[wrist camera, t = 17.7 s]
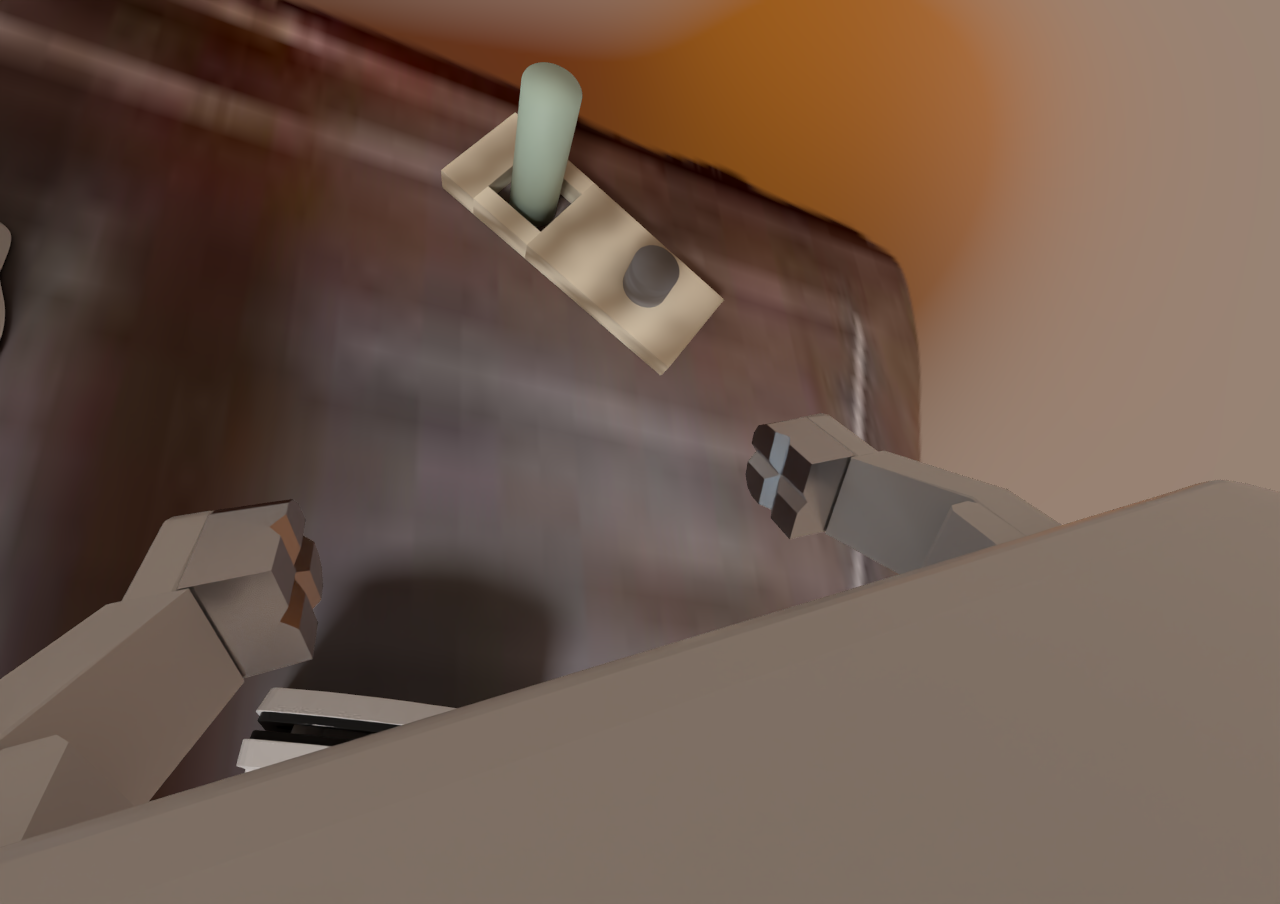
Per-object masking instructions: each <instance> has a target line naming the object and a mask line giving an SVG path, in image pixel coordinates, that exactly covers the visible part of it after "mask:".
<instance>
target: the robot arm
mask: <svg viewBox="0 0 1280 904" xmlns="http://www.w3.org/2000/svg"><path fill="white" fill-rule="evenodd" d="M10 244H11V234H10V231H9V230H8V228H7V227H6V226H4V225H3V224H2V223H0V270H1V268H2V266H3V264H4V261H5V259H6V256H7V254H8V251H9V248H10ZM4 321H5V305H4V298H3V293H2V288H1V282H0V339H1V336H2V332H3V327H4ZM752 444H753V446H754V448H755V450H756V452H755V453H754V454H753V456H752V457H751V458H750V459H749V461H748V464H747V470H746V480H747V486H748V489H749V491H750V493H751V495H752V497H753V498H754V499H755V500H756V502H757V503H758V504H760V505H762V506H764V507H766V508H769V509H771V519H772V520H773V521H774V522H775V523H776V524H777V525H778V527H779V528H780V529H781V530H782V531H783V532H784V533H785V534H786V536H787V537H788V538H789V539H793V538H798V537H803V536H807V535H812V534H816V533H821V532H825V531H826V533H825V534H827V535H829V536H831V537H833V538H835V539H836V540H838V541H840V542H842V543H844V544H845V545H847V546H849V547H851V548H853V549H854V550H856V551H858V552H860V553H862V554H864V555H865V556H867V557H869V558H871V559H873V560H874V561H876V562H878V563H880V564H882V565H884V566H885V567H887V568H889V569H891V570H893V571H894V572H896V573H898V574H899V575H896V576H892V577H889V578H886V579H883V580H879V581H876V582H873V583H869V584H866V585H863V586H859V587H856V588H853V589H850V590H846V591H843V592H840V593H836V594H833V595H830V596H826V597H823V598H820V599H816V600H813V601H810V602H807V603H803V604H800V605H797V606H793V607H790V608H787V609H783V610H780V611H777V612H773V613H770V614H767V615H764V616H760V617H757V618H754V619H750V620H747V621H744V622H740V623H737V624H734V625H731V626H727V627H724V628H721V629H717V630H714V631H711V632H707V633H704V634H701V635H698V636H694V637H691V638H688V639H684V640H681V641H678V642H674V643H671V644H668V645H665V646H661V647H658V648H655V649H651V650H648V651H645V652H642V653H638V654H635V655H632V656H628V657H625V658H622V659H618V660H615V661H612V662H609V663H605V664H602V665H599V666H595V667H592V668H589V669H585V670H582V671H579V672H576V673H572V674H569V675H566V676H562V677H559V678H556V679H552V680H549V681H546V682H543V683H539V684H536V685H533V686H529V687H526V688H523V689H520V690H516V691H513V692H510V693H506V694H503V695H500V696H496V697H493V698H490V699H487V700H483V701H480V702H477V703H473V704H470V705H467V706H463V707H460V708H457V709H454V710H450V711H447V712H444V713H440V714H437V715H434V716H430V717H427V718H424V719H421V720H417V721H414V722H411V723H407V724H404V725H401V726H397V727H394V728H391V729H388V730H384V731H381V732H378V733H374V734H371V735H368V736H364V737H361V738H358V739H355V740H351V741H348V742H345V743H341V744H338V745H335V746H332V747H328V748H325V749H322V750H318V751H315V752H312V753H308V754H305V755H302V756H299V757H295V758H292V759H289V760H285V761H282V762H279V763H275V764H272V765H269V766H266V767H262V768H259V769H256V770H252V771H249V772H246V773H242V774H239V775H236V776H233V777H229V778H226V779H223V780H219V781H216V782H213V783H210V784H206V785H203V786H200V787H196V788H193V789H190V790H186V791H183V792H180V793H177V794H173V795H170V796H167V797H163V798H160V799H157V800H153V801H150V802H148V801H149V800H150V799H151V798H152V796H153V795H154V794H155V793H156V791H157V790H158V789H159V788H160V786H161V785H162V784H163V783H164V781H165V780H166V779H167V778H168V776H169V775H170V774H171V773H172V771H173V770H174V769H175V768H176V766H177V765H178V764H179V763H180V761H181V760H182V759H183V758H184V756H185V755H186V754H187V753H188V751H189V750H190V749H191V748H192V746H193V745H194V744H195V743H196V741H197V740H198V739H199V738H200V736H201V735H202V734H203V733H204V731H205V730H206V729H207V728H208V726H209V725H210V724H211V723H212V721H213V720H214V719H215V718H216V716H217V715H218V714H219V713H220V711H221V710H222V709H223V708H224V706H225V705H226V704H227V703H228V701H229V700H230V699H231V698H232V696H233V695H234V694H235V693H236V691H237V690H238V689H239V688H240V686H241V685H242V684H243V683H244V679H243V678H246V677H249V676H253V675H257V674H260V673H264V672H267V671H271V670H275V669H278V668H282V667H286V666H289V665H293V664H297V663H300V662H304V661H307V660H311V659H313V654H314V647H315V640H316V634H317V627H318V621H317V619H316V617H315V614H314V612H313V608H314V607H315V606H316V605H317V604H318V603H319V602H320V601H321V598H322V590H323V577H322V566H321V562H320V557H319V553H318V550H317V548H316V545H315V542H314V541H312V540H310V539H308V538H307V537H305V536H303V533H304V528H305V522H306V519H305V517H304V515H303V512H302V510H301V508H300V505H299V503H297V502H296V501H295V500H294V499H290V500H283V501H276V502H269V503H262V504H255V505H248V506H241V507H234V508H227V509H220V510H215V511H206V512H200V513H194V514H187V515H181V516H175V517H172V518H170V519H168V520H166V521H165V522H164V523H163V525H162V527H161V529H160V530H159V532H158V534H157V536H156V538H155V540H154V542H153V544H152V545H151V547H150V549H149V551H148V553H147V555H146V557H145V558H144V560H143V562H142V564H141V566H140V568H139V570H138V572H137V573H136V575H135V577H134V579H133V581H132V583H131V585H130V586H129V588H128V590H127V592H126V594H125V596H124V598H123V600H122V601H121V602H117V603H112V604H107V605H105V606H104V607H103V608H101V609H100V610H98V611H97V612H95V613H94V614H93V615H91V616H90V617H88V618H87V619H86V620H84V621H83V622H81V623H80V624H78V625H77V626H76V627H74V628H73V629H71V630H70V631H68V632H67V633H66V634H64V635H63V636H61V637H60V638H59V639H57V640H56V641H54V642H53V643H51V644H50V645H49V646H47V647H46V648H44V649H43V650H41V651H40V652H39V653H37V654H36V655H34V656H33V657H32V658H30V659H29V660H27V661H26V662H24V663H23V664H22V665H20V666H19V667H17V668H16V669H15V670H13V671H12V672H10V673H9V674H7V675H6V676H5V677H3V678H2V679H0V904H1280V492H1278V491H1274V490H1270V489H1266V488H1261V487H1257V486H1254V485H1250V484H1246V483H1240V482H1235V481H1229V480H1214V481H1207V482H1203V483H1198V484H1195V485H1192V486H1188V487H1185V488H1182V489H1179V490H1176V491H1173V492H1170V493H1166V494H1163V495H1160V496H1156V497H1153V498H1150V499H1146V500H1143V501H1140V502H1137V503H1133V504H1130V505H1127V506H1123V507H1120V508H1117V509H1113V510H1110V511H1107V512H1104V513H1101V514H1097V515H1094V516H1091V517H1087V518H1084V519H1081V520H1077V521H1074V522H1071V523H1067V524H1064V525H1061V524H1060V523H1058V522H1057V521H1055V520H1054V519H1052V518H1051V517H1049V516H1048V515H1046V514H1045V513H1043V512H1042V511H1040V510H1038V509H1037V508H1035V507H1034V506H1032V505H1031V504H1029V503H1027V502H1026V501H1025V500H1023V499H1021V498H1020V497H1019V496H1017V495H1016V494H1014V493H1013V492H1011V491H1009V490H1008V489H1005V488H1002V487H998V486H995V485H992V484H989V483H985V482H982V481H979V480H976V479H973V478H969V477H966V476H963V475H960V474H957V473H953V472H950V471H947V470H944V469H941V468H937V467H934V466H931V465H928V464H925V463H922V462H918V461H915V460H912V459H909V458H906V457H902V456H899V455H896V454H893V453H890V452H886V451H880V452H878V451H876V450H875V449H874V448H872V447H871V446H870V445H868V444H867V443H866V442H864V441H863V440H862V439H860V438H859V437H858V436H856V435H855V434H854V433H852V432H851V431H850V430H848V429H847V428H845V427H844V426H843V425H841V424H840V423H839V422H837V421H836V420H835V419H833V418H832V417H831V416H829V415H826V414H822V413H820V414H815V415H810V416H805V417H801V418H798V419H792V420H786V421H780V422H775V423H769V424H763V425H759V426H758V427H757V429H756V430H755V432H754V435H753V440H752Z"/></svg>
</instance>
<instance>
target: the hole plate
mask: <svg viewBox="0 0 1280 904" xmlns="http://www.w3.org/2000/svg"><path fill="white" fill-rule="evenodd" d="M517 120H518V114H516V113H514V114H513V115H511V116H510V117H509V118H508V119H506V120H505V121H504V122H502V123H501V124H500V125H499V126H497V127H496V128H495V129H493V130H492V131H491V132H490V133H488V134H487V135H486V136H484V137H483V138H482V139H481V140H479V141H478V142H477V143H475V144H474V145H473V146H472V147H470V148H469V149H468V150H466V151H465V152H464V153H463V154H461V155H460V156H459V157H457V158H456V159H455V160H454V161H452V162H451V163H450V164H448V165H447V166H446V167H445V168H443V169H442V170H441V176H442V187H443V188H444V189H445V190H446V191H447V192H448V193H450V194H451V195H452V196H453V197H454V198H455V199H457V200H458V201H459V202H460V203H461V204H462V205H463V206H465V207H466V208H467V209H468V210H469V211H470V212H472V213H473V214H474V215H475V216H476V217H477V218H479V219H480V220H481V221H482V222H483V223H484V224H486V225H487V226H488V227H489V228H490V229H491V230H492V231H494V232H495V233H496V234H497V235H498V236H499V237H501V238H502V239H503V240H504V241H505V242H506V243H508V244H509V245H510V246H511V247H512V248H513V249H514V250H516V251H517V252H518V253H519V254H520V255H521V256H523V257H524V258H525V259H526V260H527V261H528V262H530V263H531V264H532V265H533V266H534V267H535V268H537V269H538V270H539V271H540V272H541V273H542V274H543V275H545V276H546V277H547V278H548V279H549V280H550V281H552V282H553V283H554V284H555V285H556V286H557V287H559V288H560V289H561V290H562V291H563V292H564V293H566V294H567V295H568V296H569V297H570V298H571V299H572V300H574V301H575V302H576V303H577V304H578V305H579V306H581V307H582V308H583V309H584V310H585V311H586V312H588V313H589V314H590V315H591V316H592V317H593V318H594V319H596V320H597V321H598V322H599V323H600V324H601V325H603V326H604V327H605V328H606V329H607V330H608V331H610V332H611V333H612V334H613V335H614V336H615V337H617V338H618V339H619V340H620V341H621V342H622V343H623V344H625V345H626V346H627V347H628V348H629V349H630V350H632V351H633V352H634V353H635V354H636V355H637V356H639V357H640V358H641V359H642V360H643V361H644V362H646V363H647V364H648V365H649V366H650V367H651V368H652V369H654V370H655V371H656V372H657V373H658V374H659V375H662V374H663V373H664V372H665V371H666V370H667V369H668V368H669V367H670V365H671V364H672V363H673V362H674V360H675V359H676V358H677V357H678V355H679V354H680V353H681V352H682V351H683V349H684V348H685V347H686V346H687V344H688V343H689V342H690V341H691V339H692V338H693V337H694V336H695V335H696V333H697V332H698V331H699V330H700V328H701V327H702V326H703V325H704V323H705V322H706V321H707V320H708V319H709V317H710V316H711V315H712V314H713V312H714V311H715V310H716V309H717V307H718V306H719V305H720V304H721V303H722V301H723V300H724V299H723V298H722V297H721V296H720V295H718V294H717V293H716V292H715V291H714V290H713V289H712V288H711V287H709V286H708V285H707V284H706V283H705V282H704V281H703V280H702V279H701V278H699V277H698V276H697V275H696V274H695V273H694V272H693V271H692V270H690V269H689V268H688V267H687V266H686V265H685V264H684V263H683V262H682V261H680V260H679V259H678V258H677V257H676V256H675V255H674V254H673V253H672V252H670V251H669V250H668V249H667V248H666V247H665V246H664V245H663V244H661V243H660V242H659V241H658V240H657V239H656V238H655V237H654V236H653V235H651V234H650V233H649V232H648V231H647V230H646V229H645V228H644V227H643V226H641V225H640V224H639V223H638V222H637V221H636V220H635V219H634V218H632V217H631V216H630V215H629V214H628V213H627V212H626V211H625V210H624V209H622V208H621V207H620V206H619V205H618V204H617V203H616V202H615V201H613V200H612V199H611V198H610V197H609V196H608V195H607V194H606V193H605V192H603V191H602V190H601V189H600V188H599V187H598V186H597V185H596V184H595V183H593V182H592V181H591V180H590V179H589V178H588V177H587V176H586V175H584V174H583V173H582V172H581V171H580V170H579V169H578V168H577V167H576V166H574V165H573V164H572V163H571V162H570V161H569V160H568V161H567V166H566V170H565V174H564V178H563V183H562V187H561V191H560V194H561V195H562V196H563V197H564V198H565V199H566V200H568V201H569V202H570V203H571V205H570V206H568V207H567V208H566V209H565V210H564V211H563V212H562V213H561V214H560V215H559V216H558V217H557V218H555V219H554V220H553V221H552V222H551V223H550V224H549V225H548V226H547V227H546V228H545V229H544V230H542V231H541V232H540V231H539V230H538V229H537V228H536V227H535V226H533V225H532V224H531V223H530V222H529V221H528V220H526V219H525V218H524V217H523V216H522V215H521V214H520V213H518V212H517V211H516V210H515V209H514V208H513V207H512V206H510V205H509V204H508V203H507V202H506V201H505V200H504V199H502V198H501V197H500V196H499V195H498V193H499V192H500V191H501V190H502V189H504V188H505V187H506V186H507V185H508V184H510V183H511V180H512V170H513V160H514V150H515V140H516V130H517Z"/></svg>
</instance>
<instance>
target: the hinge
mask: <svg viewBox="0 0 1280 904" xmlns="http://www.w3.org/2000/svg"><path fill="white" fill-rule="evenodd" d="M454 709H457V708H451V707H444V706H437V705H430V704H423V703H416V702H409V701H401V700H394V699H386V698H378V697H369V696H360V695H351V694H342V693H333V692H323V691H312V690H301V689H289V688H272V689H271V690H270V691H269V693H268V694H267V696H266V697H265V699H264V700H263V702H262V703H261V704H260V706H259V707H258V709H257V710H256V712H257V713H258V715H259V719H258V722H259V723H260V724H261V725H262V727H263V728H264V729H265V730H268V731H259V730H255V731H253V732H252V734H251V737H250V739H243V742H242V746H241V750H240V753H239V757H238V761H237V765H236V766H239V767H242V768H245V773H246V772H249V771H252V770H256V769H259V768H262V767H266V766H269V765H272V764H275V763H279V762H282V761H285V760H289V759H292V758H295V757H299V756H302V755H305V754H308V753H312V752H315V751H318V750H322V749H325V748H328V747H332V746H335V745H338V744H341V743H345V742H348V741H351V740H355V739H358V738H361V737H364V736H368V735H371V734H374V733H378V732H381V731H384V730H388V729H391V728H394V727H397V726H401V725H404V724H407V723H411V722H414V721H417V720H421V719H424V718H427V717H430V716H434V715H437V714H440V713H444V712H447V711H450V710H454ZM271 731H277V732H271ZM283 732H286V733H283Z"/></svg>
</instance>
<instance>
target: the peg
mask: <svg viewBox="0 0 1280 904" xmlns="http://www.w3.org/2000/svg"><path fill="white" fill-rule="evenodd" d="M581 101H582V90H581V87H580V85H579V83H578V81H577V80H576V79H575V77H574V76H573V75H572V74H571V73H570V72H568V71H567V70H566V69H564V68H562V67H560V66H558V65H555V64H552V63H544V62H542V63H536V64H533V65H531V66H529V67H528V68H527V69H526V70H525V71H524V73H523V75H522V80H521V90H520V100H519V110H518V120H517V130H516V140H515V150H514V160H513V170H512V180H511V190H510V200H509V205H510V206H512V207H513V208H514V209H515V210H516V211H517V212H518V213H520V214H521V215H522V216H523V217H524V218H525V219H526V220H528V221H529V222H530V223H531V224H532V225H533V226H535V227H539V226H544V225H547V224H548V223H550V222H551V221H552V220H553V218H554V216H555V213H556V209H557V204H558V200H559V196H560V191H561V187H562V183H563V178H564V174H565V170H566V166H567V161H568V157H569V153H570V148H571V144H572V140H573V135H574V131H575V127H576V123H577V118H578V114H579V110H580V105H581Z"/></svg>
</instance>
